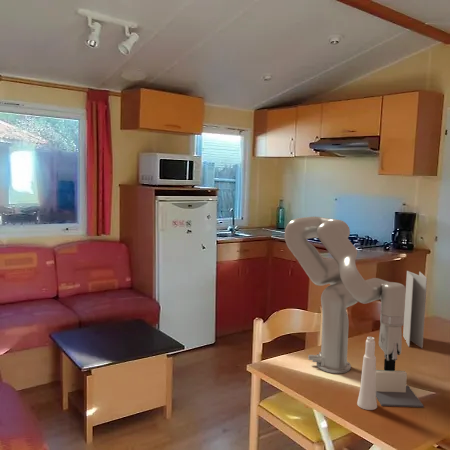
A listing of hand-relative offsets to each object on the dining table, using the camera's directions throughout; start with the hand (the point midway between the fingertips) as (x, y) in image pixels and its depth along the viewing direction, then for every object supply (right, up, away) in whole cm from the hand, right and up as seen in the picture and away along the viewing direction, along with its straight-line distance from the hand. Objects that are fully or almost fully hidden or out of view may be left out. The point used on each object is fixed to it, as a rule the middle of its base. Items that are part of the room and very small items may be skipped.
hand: (389, 370), depth 159 cm
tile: (-2, -5, -5) cm, 7 cm away
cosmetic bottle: (-12, -7, -14) cm, 19 cm away
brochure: (+26, -1, +44) cm, 50 cm away
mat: (-1, -6, -7) cm, 9 cm away
